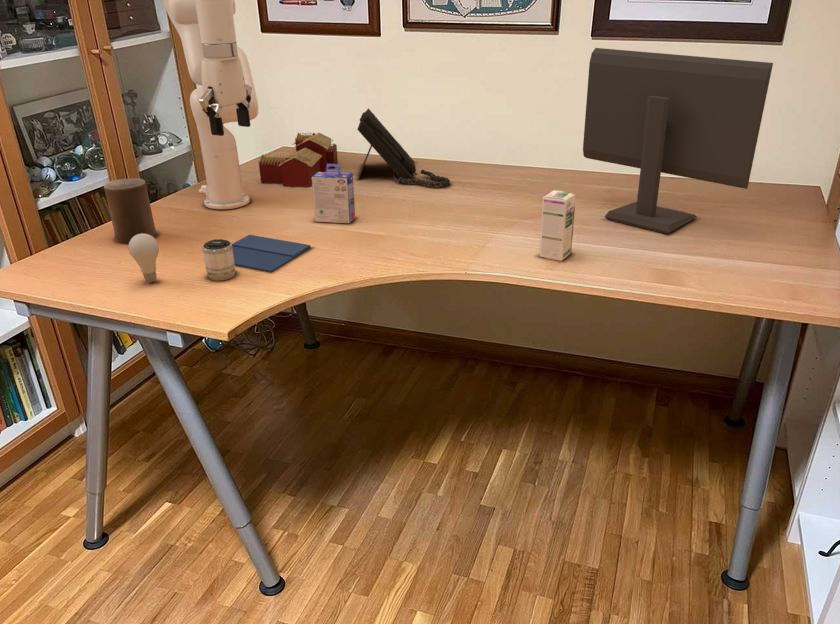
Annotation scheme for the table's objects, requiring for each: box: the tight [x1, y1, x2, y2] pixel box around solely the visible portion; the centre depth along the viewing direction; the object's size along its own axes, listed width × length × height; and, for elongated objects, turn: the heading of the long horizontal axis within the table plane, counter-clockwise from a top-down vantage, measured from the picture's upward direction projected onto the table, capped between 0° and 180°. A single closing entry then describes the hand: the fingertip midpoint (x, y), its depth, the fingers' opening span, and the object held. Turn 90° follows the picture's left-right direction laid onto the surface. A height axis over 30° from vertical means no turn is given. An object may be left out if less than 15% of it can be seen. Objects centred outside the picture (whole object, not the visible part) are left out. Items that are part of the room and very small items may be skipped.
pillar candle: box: [103, 177, 157, 244], centre depth 176 cm, size 10×10×15 cm
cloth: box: [231, 234, 311, 273], centre depth 168 cm, size 18×16×1 cm
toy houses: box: [255, 132, 339, 188], centre depth 232 cm, size 45×20×10 cm, turn 173°
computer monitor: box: [582, 47, 774, 235], centre depth 176 cm, size 44×16×40 cm, turn 47°
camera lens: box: [201, 238, 236, 282], centre depth 155 cm, size 6×6×8 cm
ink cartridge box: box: [311, 163, 356, 224], centre depth 185 cm, size 10×6×14 cm, turn 78°
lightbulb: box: [127, 234, 160, 284], centre depth 152 cm, size 6×6×11 cm
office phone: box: [357, 107, 451, 188], centre depth 219 cm, size 29×28×20 cm
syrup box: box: [539, 189, 577, 262], centre depth 161 cm, size 6×6×14 cm
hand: (231, 130), depth 165 cm, fingers open, 9 cm apart
